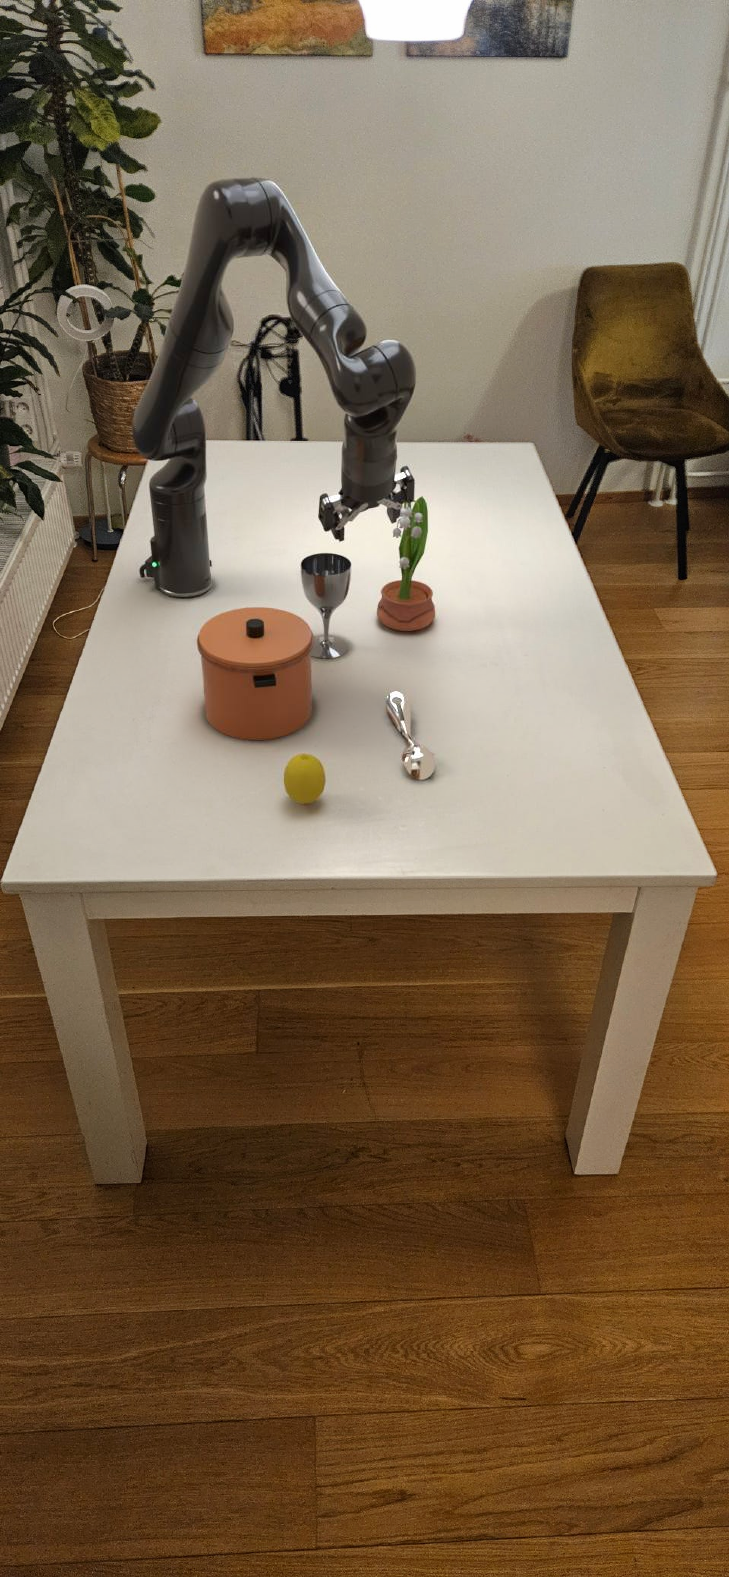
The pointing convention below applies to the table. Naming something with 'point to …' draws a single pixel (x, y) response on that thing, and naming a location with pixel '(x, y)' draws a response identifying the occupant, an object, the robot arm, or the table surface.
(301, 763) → the lemon
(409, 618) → the potted flower
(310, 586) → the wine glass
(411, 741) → the silver elongated piece
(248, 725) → the copper pot
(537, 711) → the table surface
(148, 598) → the table surface
